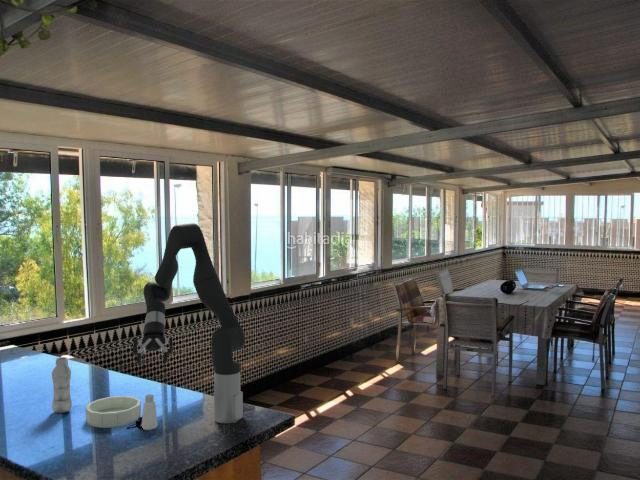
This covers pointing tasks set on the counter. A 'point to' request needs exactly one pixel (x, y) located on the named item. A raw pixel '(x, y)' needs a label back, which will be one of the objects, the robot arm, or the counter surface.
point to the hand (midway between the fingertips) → (152, 363)
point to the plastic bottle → (61, 386)
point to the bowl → (113, 411)
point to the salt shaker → (149, 413)
